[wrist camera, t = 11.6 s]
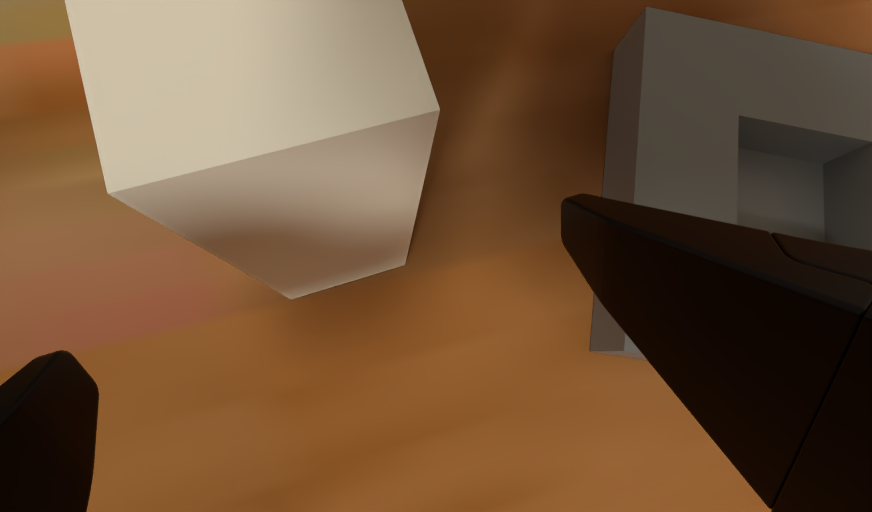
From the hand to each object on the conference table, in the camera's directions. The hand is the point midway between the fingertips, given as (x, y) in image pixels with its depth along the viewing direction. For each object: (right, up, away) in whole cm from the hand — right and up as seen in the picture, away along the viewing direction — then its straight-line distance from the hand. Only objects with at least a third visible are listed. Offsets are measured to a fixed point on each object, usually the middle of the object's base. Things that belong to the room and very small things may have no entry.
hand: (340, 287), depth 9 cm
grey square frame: (+14, +2, +10) cm, 17 cm away
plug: (-2, +2, +8) cm, 8 cm away
